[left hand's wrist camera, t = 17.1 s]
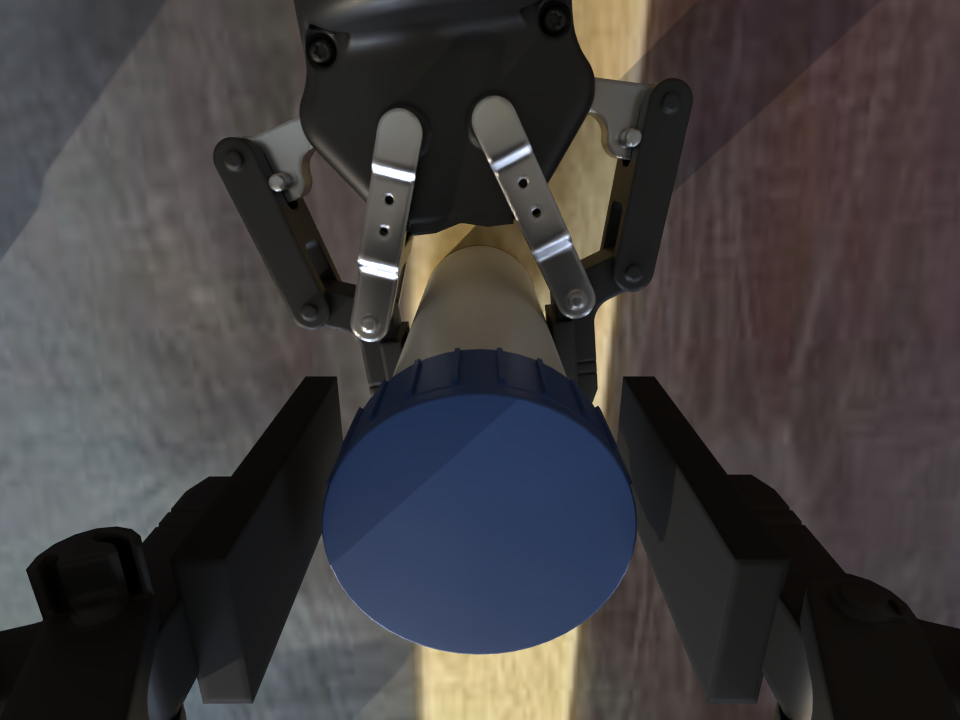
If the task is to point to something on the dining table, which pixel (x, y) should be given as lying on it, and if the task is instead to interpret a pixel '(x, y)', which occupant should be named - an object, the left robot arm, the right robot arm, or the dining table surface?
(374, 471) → the lid
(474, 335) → the white bottle
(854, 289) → the dining table surface
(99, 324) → the dining table surface
